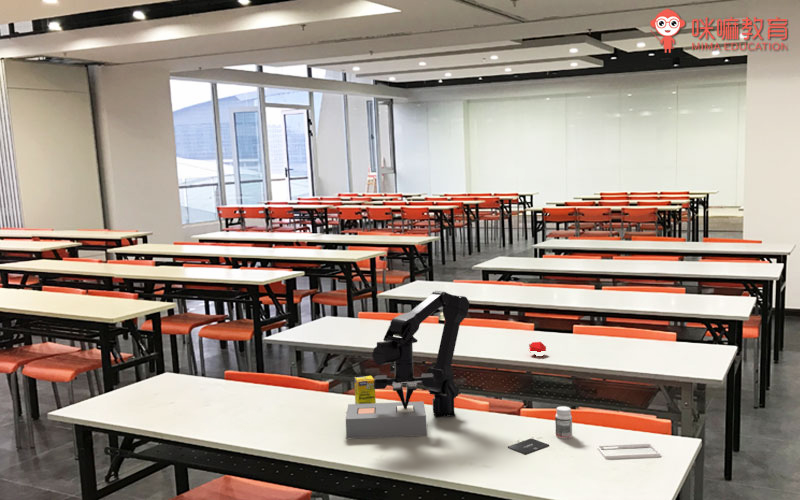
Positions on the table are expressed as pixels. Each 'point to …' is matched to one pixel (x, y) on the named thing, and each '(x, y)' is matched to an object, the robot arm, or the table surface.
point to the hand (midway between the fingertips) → (405, 408)
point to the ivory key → (401, 409)
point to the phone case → (629, 454)
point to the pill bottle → (563, 422)
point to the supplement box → (364, 390)
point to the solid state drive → (528, 446)
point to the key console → (385, 421)
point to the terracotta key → (366, 410)
